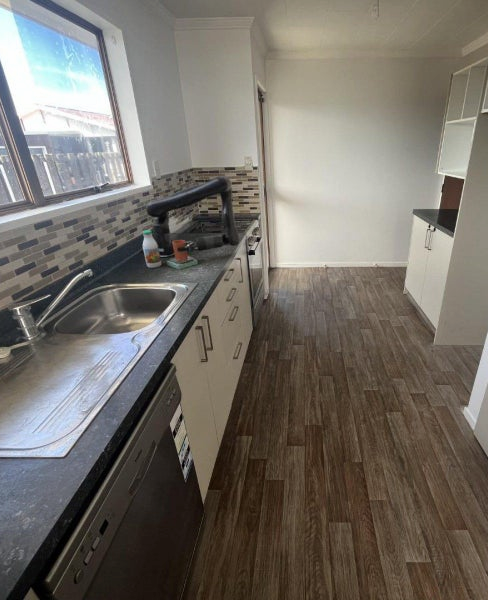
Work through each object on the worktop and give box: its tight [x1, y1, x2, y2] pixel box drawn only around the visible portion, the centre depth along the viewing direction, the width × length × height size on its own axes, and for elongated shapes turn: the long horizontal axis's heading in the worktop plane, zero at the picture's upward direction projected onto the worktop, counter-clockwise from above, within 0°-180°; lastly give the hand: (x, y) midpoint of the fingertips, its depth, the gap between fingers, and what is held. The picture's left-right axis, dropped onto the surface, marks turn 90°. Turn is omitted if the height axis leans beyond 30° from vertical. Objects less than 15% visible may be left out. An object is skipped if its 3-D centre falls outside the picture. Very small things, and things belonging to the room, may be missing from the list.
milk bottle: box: [142, 229, 162, 269], centre depth 182 cm, size 8×8×20 cm
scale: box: [166, 258, 199, 270], centre depth 187 cm, size 12×12×3 cm
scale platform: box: [168, 255, 195, 264], centre depth 186 cm, size 10×10×1 cm
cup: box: [172, 239, 189, 261], centre depth 184 cm, size 7×7×10 cm
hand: (176, 248), depth 182 cm, fingers open, 8 cm apart
